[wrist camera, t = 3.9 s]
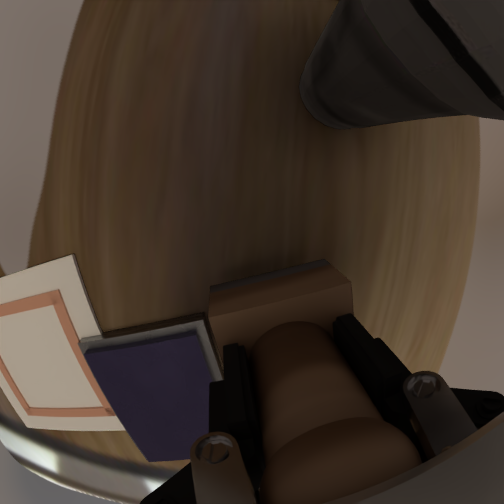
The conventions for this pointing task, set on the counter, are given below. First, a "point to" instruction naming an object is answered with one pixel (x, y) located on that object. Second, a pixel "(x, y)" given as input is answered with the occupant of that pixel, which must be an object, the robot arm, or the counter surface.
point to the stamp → (307, 386)
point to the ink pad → (157, 382)
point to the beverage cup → (406, 62)
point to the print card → (50, 349)
